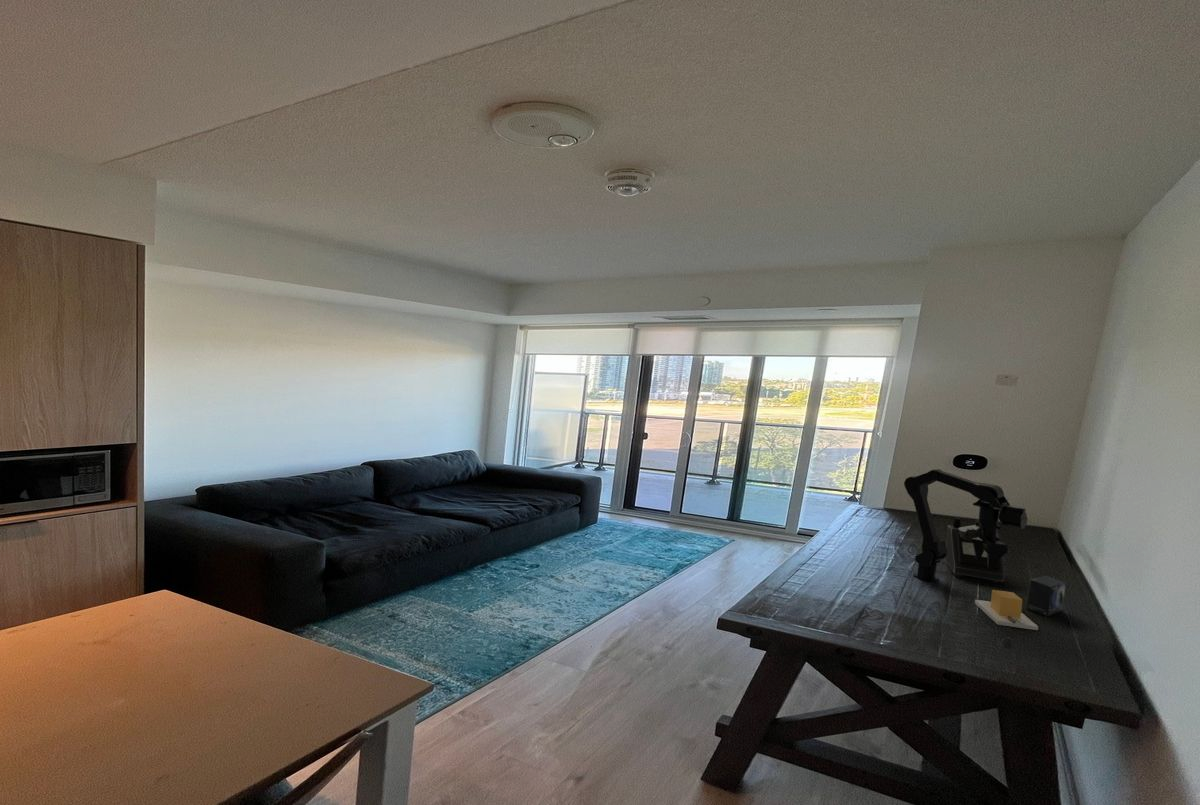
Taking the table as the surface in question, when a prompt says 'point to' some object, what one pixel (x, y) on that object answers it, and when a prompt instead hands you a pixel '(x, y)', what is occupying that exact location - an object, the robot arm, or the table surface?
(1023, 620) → the plate
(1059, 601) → the small box
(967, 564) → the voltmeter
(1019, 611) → the mustard yellow cube
